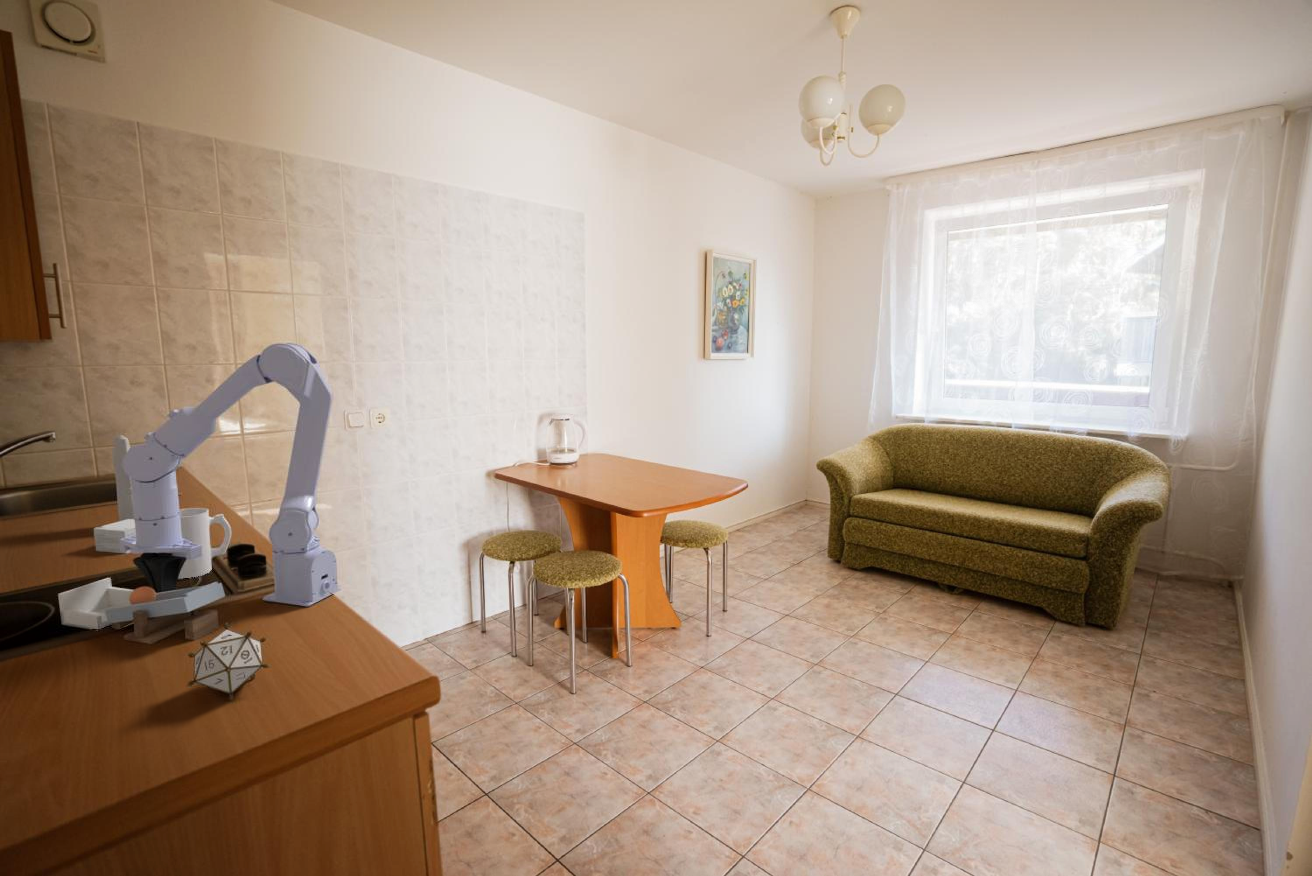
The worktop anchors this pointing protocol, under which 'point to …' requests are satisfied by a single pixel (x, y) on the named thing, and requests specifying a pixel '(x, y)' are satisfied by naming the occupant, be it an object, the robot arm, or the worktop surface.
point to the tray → (91, 604)
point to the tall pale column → (122, 479)
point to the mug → (201, 539)
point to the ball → (142, 595)
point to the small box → (113, 535)
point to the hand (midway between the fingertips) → (164, 595)
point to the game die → (227, 661)
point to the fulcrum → (170, 625)
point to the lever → (169, 603)
